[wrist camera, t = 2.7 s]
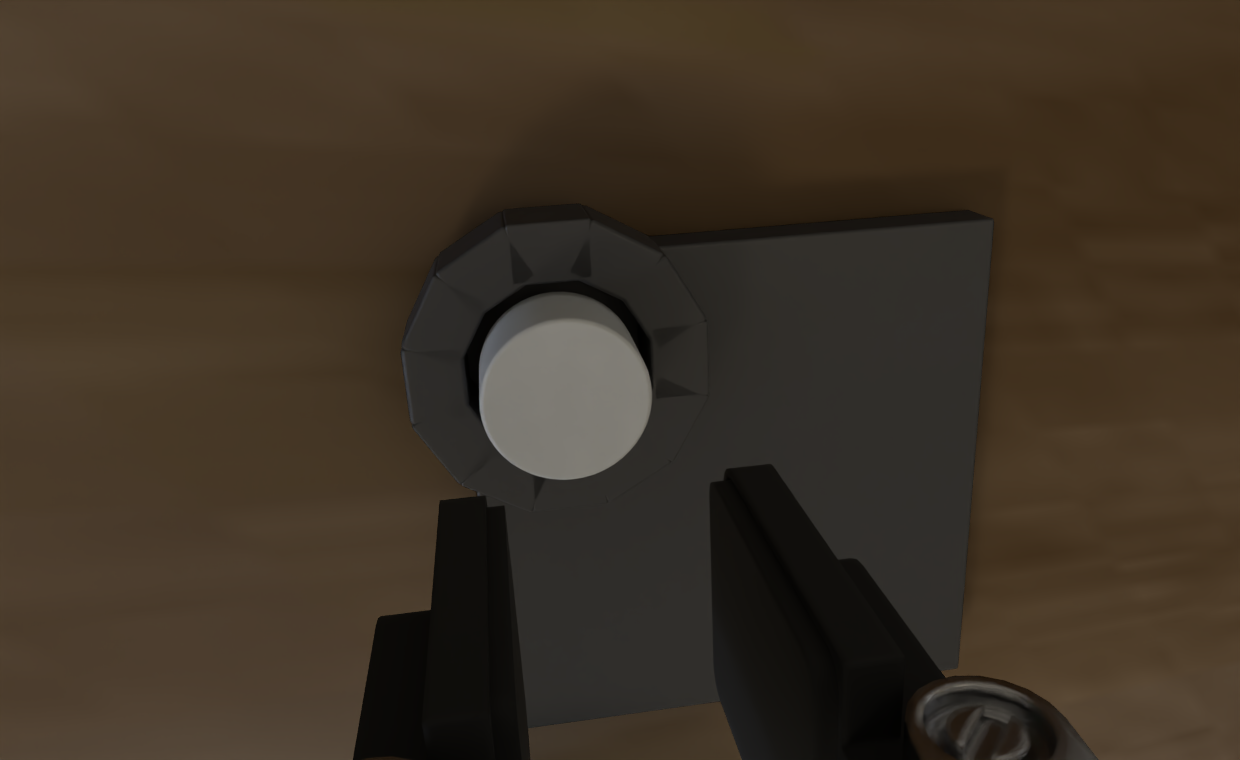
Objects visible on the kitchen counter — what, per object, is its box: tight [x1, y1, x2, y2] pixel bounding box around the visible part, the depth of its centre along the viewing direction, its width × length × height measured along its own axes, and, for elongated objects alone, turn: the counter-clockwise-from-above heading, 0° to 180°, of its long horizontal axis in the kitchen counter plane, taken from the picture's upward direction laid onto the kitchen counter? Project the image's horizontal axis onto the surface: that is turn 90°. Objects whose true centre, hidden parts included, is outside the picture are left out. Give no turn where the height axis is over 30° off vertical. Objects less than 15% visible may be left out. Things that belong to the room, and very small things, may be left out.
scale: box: [401, 204, 994, 728], centre depth 22 cm, size 13×13×3 cm
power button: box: [479, 292, 652, 480], centre depth 19 cm, size 3×3×2 cm
